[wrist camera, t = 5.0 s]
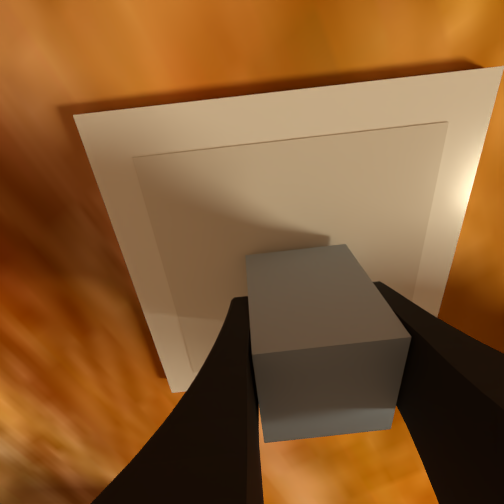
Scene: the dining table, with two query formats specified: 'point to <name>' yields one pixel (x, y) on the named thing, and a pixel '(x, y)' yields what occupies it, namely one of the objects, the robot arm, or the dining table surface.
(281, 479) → the dining table surface
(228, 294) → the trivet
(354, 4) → the dining table surface
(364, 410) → the block
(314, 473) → the dining table surface
